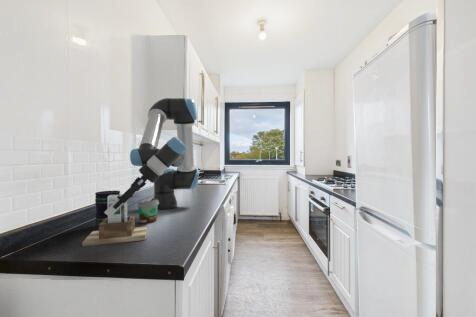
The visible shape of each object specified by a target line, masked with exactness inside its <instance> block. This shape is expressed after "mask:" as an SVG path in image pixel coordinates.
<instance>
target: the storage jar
mask: <svg viewBox="0 0 476 317" xmlns="http://www.w3.org/2000/svg"><path fill="white" fill-rule="evenodd" d="M94 194H95V198H94V203H95V209H96V211H95V212H96V213H95V228H96V229H98V230H99V224H100V223H101V222H102V221H103V220H104V219H105V218H108V215H106V214H105V213H104V212H105V211H106V210H107V209H108V204H107V197H108V196H109V195H116V194H121V191H120V190H103V191H102V190H101V191H96V192H95V193H94Z"/></svg>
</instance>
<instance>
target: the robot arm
mask: <svg viewBox="0 0 476 317" xmlns="http://www.w3.org/2000/svg"><path fill="white" fill-rule="evenodd" d="M197 111H198V110H197V107H196V102H195V100H194V99H192V98H186V97H185V98H184V97H183V98H179V97H178V98H173V97H171V98H169V97H165V98H162V99H160V100H157V101H156V102H154V103H153V105H152V106H151V107H150V109H149V110H148V112H147V119H148V120H147V122H146V126H145V128H144V131H143V134H142V138H141V141H140V142H139V143H140V144H139V147H138V148H133V149H131V151H130V154H129V160H130V163H131V165H132V166H134V167H135V166H137V167H140V168H139V169H138V171H139V173H140V174H141V177H140V176H138V177H136V179H134V181H133V182H132V183H131V185H130V187H129V188H128V189H127V190H126V191H125V192H124V193H123V195H122V196H118V197H117V198H118V199H117V200H116V201H115V202H114V203H113V204H112V205H111V206H110V207H109V208H108V209H107V210H106V211H105V212H104V213H105V214H106V215H108V216H109V217H111V216H112V215H113V214H114V213H115V212H116V211H117V210H118V209H119V208H120V207H121V206H122V205H123V204H124V203H125V202H127V203H128V200H129V199H130V198H131V199H132V198H133V197H134V194H135V193H136V192H139V191H140V190H141V189H142V188H144V187H145V185H146V184H147V183H146V182H147V181H149V182H150V183H153V197H152V198H156V199H158V201H159V204H158V207H157V210H169V209H170V208H171V209H174V207H175V208H178V200H177V198H176V196H175V195H176V194H175V190H196V189H197V188H198V184H199V176H200V175H199V174H200V170H199V169H197V166H196V165H195V161H194V160H195V159H194V140H193V126H194V124H195V122H196V120H197V121H198V113H197ZM168 120H173V124H174V125H175V126H176V133H177V136H173V137H171V138H170V139H169V140H167V141H166V143H165V144H164V145H163V146H162V147H160V148H158V146H159V142H160V137H161V133H162V130H163V126H164V123H165V122H167V121H168ZM174 167H175V168H176V169H175V168H174Z"/></svg>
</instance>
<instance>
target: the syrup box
mask: <svg viewBox="0 0 476 317" xmlns="http://www.w3.org/2000/svg"><path fill="white" fill-rule="evenodd" d="M123 194H124V193H123ZM123 194H121V193H120V194H116V195H109V196H108V197H107V204H108V208H109V207H110V206H111V205H112V204H113V203H114V202H115V201H116V200H117V199H118V198H117V197H118V196H122V195H123ZM127 216H128V201H127V202H125V203H124V204H123V205H122V206H121V207H120V208H119V209H118V210H117V211H116V212H115V213H114V214H113V215H112V216H111V217H109V216H108V223H118V222H128V221H127Z"/></svg>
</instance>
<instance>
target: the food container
mask: <svg viewBox="0 0 476 317" xmlns="http://www.w3.org/2000/svg"><path fill="white" fill-rule="evenodd" d="M158 204H159V201H158V199H156V198H153V197H152V198H151V199H150V200H146V201H143V202H142V201H140V202H139V201H138V202H137V208H138V218H139V225H146V224H152V223H156V222H157V221H158V220H157V218H158V209H157V207H158Z"/></svg>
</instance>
